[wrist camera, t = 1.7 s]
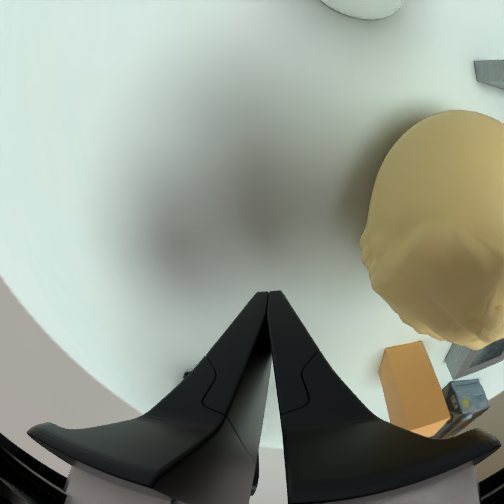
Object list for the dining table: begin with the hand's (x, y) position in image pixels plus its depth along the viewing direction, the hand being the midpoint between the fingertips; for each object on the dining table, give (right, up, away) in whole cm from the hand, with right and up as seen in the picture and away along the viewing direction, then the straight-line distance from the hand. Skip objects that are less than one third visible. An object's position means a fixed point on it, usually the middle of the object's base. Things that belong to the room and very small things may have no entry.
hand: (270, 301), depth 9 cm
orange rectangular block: (+14, -9, +14) cm, 22 cm away
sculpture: (+11, +5, +6) cm, 14 cm away
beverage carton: (+28, -24, +22) cm, 42 cm away
